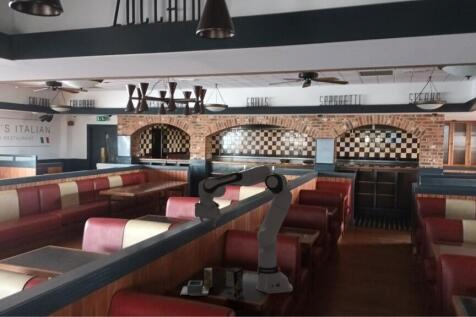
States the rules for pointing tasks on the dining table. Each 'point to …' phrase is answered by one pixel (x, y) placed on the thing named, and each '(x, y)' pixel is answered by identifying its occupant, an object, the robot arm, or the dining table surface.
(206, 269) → the beech pin
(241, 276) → the coffee box
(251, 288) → the dining table surface
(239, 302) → the dining table surface
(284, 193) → the robot arm
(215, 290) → the dining table surface
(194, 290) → the socket plate
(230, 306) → the dining table surface
